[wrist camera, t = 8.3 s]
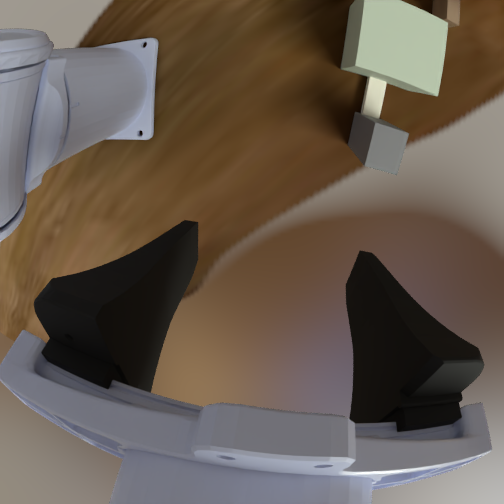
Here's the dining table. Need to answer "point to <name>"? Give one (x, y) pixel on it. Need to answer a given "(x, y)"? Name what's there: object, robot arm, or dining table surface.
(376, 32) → the sage block
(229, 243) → the dining table surface
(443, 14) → the frame
